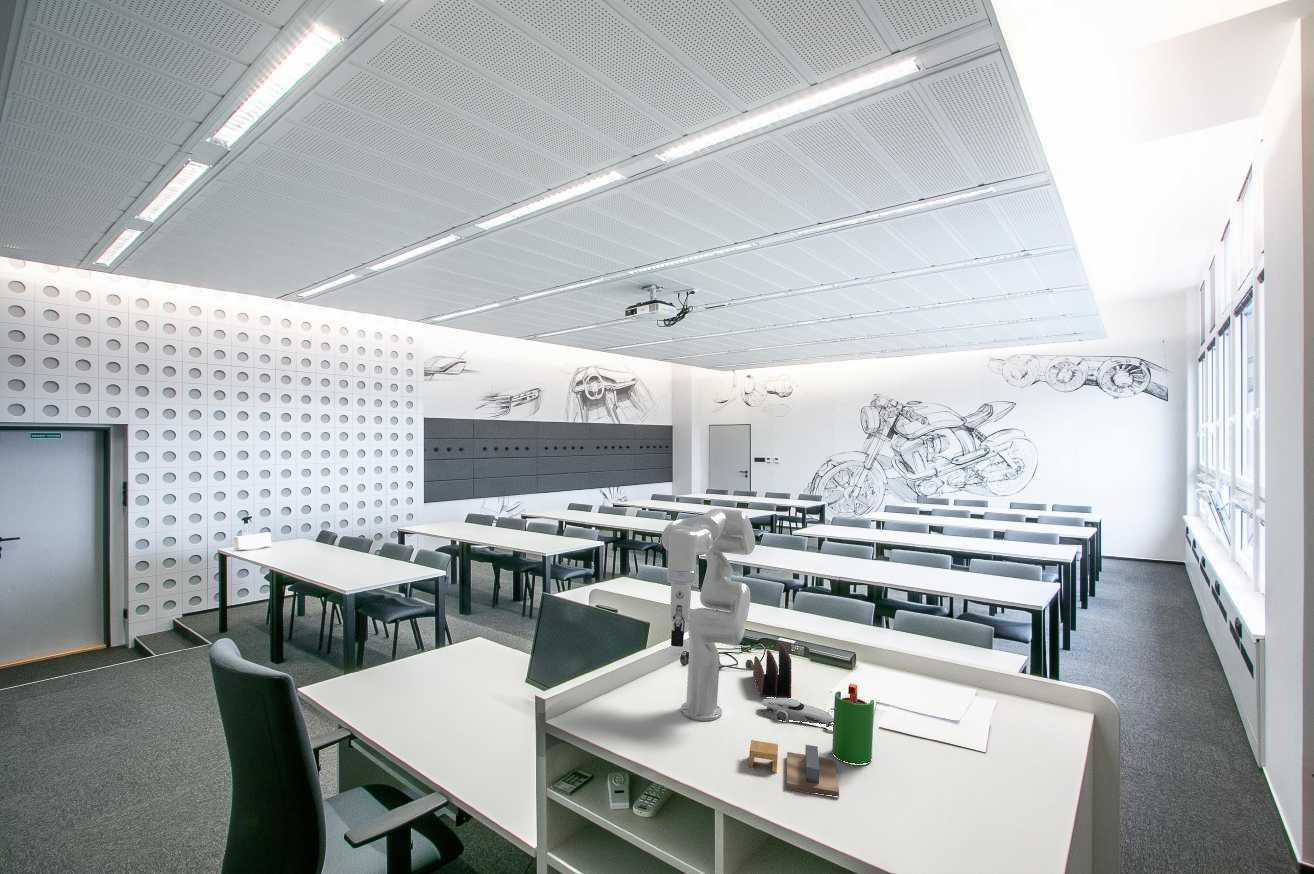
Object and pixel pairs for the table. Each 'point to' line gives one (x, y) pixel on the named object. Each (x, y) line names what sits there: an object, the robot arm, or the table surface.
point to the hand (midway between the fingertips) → (677, 640)
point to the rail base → (798, 775)
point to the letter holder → (774, 675)
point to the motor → (852, 728)
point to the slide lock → (763, 753)
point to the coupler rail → (812, 764)
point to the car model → (796, 711)
